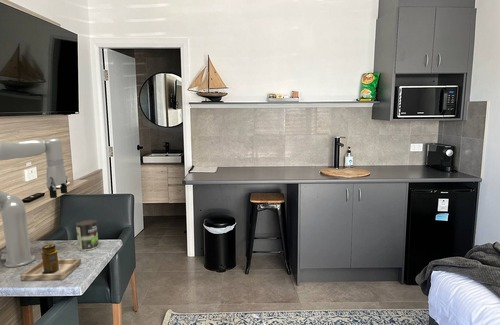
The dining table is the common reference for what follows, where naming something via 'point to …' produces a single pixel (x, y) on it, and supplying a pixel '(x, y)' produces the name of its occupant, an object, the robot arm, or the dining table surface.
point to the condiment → (50, 260)
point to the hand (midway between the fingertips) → (59, 195)
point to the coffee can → (87, 235)
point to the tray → (36, 274)
